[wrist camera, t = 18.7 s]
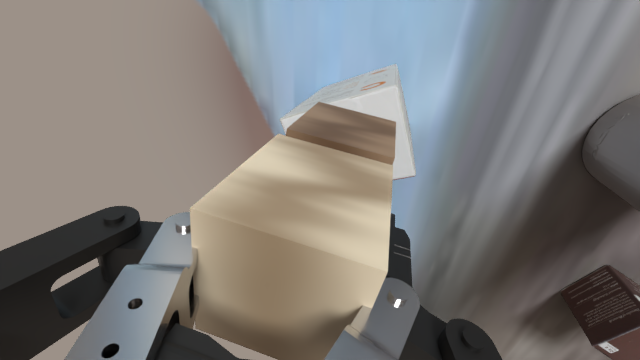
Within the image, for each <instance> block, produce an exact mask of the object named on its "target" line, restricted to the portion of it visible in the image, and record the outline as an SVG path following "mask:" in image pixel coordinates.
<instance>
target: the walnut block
mask: <svg viewBox="0 0 640 360" xmlns="http://www.w3.org/2000/svg"><path fill="white" fill-rule="evenodd" d="M286 136H288V137H292V138H295V139H299V140H303V141H306V142H310V143H313V144H317V145H321V146H324V147H328V148H332V149H335V150H339V151H343V152H346V153H350V154H353V155H357V156H361V157H364V158H368V159H372V160H375V161H379V162H383V163H386V164H390V165H393V162H394V159H395V139H396V122H395V121H391V120H387V119H384V118H380V117H376V116H372V115H368V114H364V113H361V112H357V111H353V110H349V109H345V108H341V107H337V106H334V105H330V104H326V103H322V102H318V103H317V104H315V105H314V106H313V107H312V108H311V109H309V110H308V111H307V112H306V113H305V114H304V115H302V116H301V117H300V118H299V119H298V120H296V121H295V122H294V123H293V124H292V125H290V126H289V127H288V128H287V131H286Z"/></svg>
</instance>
